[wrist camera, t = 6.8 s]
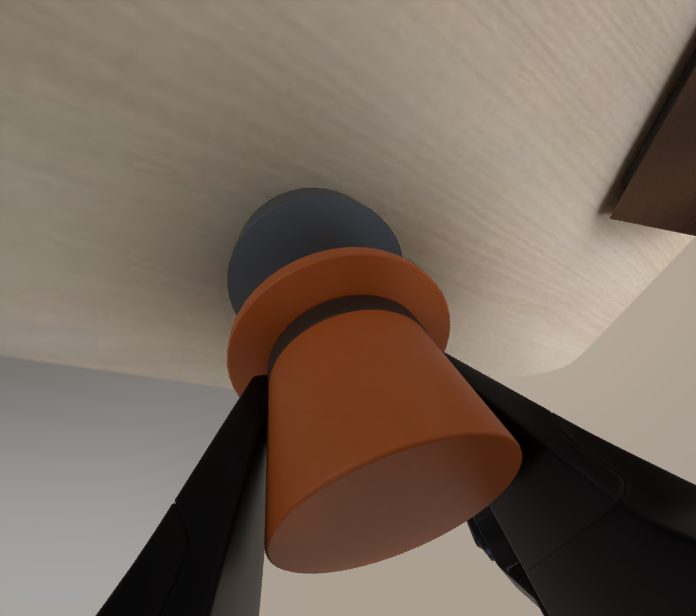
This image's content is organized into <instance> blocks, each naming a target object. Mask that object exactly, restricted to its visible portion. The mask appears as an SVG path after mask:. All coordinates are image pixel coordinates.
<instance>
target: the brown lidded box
mask: <svg viewBox="0 0 696 616" xmlns="http://www.w3.org/2000/svg"><path fill="white" fill-rule="evenodd" d="M621 185H628V186H627V188H626V190H625V191H624V193H623V195H622V197H621V199H620V200H619V202H618V204H617V206H616V207H615V209H614V211H613V213H612V214H611V216H610V219H614V220H619V221H624V222H629V223H634V224H639V225H644V226H649V227H654V228H659V229H664V230H668V231H673V232H678V233H683V234H688V235H693V236H696V50H695V52H694V53H693V55H692V57H691V59H690V61H689V62H688V64H687V66H686V68H685V70H684V71H683V73H682V75H681V77H680V79H679V81H678V82H677V84H676V86H675V88H674V90H673V91H672V93H671V95H670V97H669V99H668V100H667V102H666V104H665V106H664V108H663V109H662V111H661V113H660V115H659V117H658V119H657V120H656V122H655V124H654V126H653V128H652V129H651V131H650V133H649V135H648V137H647V138H646V140H645V142H644V144H643V146H642V147H641V149H640V151H639V153H638V155H637V156H636V158H635V160H634V162H633V164H632V166H631V167H630V169H629V171H628V173H627V175H626V176H625V178H624V180H623V182H622V184H621Z"/></svg>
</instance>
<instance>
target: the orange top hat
mask: <svg viewBox="0 0 696 616" xmlns="http://www.w3.org/2000/svg"><path fill="white" fill-rule="evenodd" d="M449 331H450V317H449V311H448V307H447V303H446V301H445V298H444V296H443V294H442V292H441V290H440V289H439V287H438V286H437V284H436V283H435V282H434V281H433V280H432V279H431V278H430V277H429V276H428V275H427V274H426V273H425V272H424V271H422V270H421V269H420V268H419V267H417V266H416V265H414V264H413V263H412V262H410V261H409V260H407V259H405V258H403V257H401V256H399V255H397V254H394V253H390V252H387V251H384V250H380V249H374V248H368V247H345V248H336V249H330V250H326V251H321V252H317V253H314V254H311V255H308V256H306V257H303V258H300V259H298V260H296V261H294V262H292V263H290V264H288V265H286V266H285V267H283V268H281V269H280V270H278V271H277V272H275V273H274V274H273V275H271V276H270V277H268V278H267V279H266V280H265V281H264V282H263V283H262V284H261V285H259V286H258V287H257V288H256V289H255V290H254V291H253V293H252V294H251V295H250V296H249V298H248V299H247V300H246V301H245V303H244V304H243V306H242V308H241V310H240V311H239V313H238V315H237V317H236V319H235V322H234V325H233V327H232V330H231V335H230V339H229V344H228V349H227V368H228V373H229V377H230V380H231V382H232V385H233V387H234V389H235V391H236V392H237V394H238V396H239V397H240V396H241V395H242V393H243V392H244V390H245V388H246V387H247V385H248V384H249V382H250V380H251V379H252V378H253V377H254V376H258V375H265V374H266V375H267V385H268V422H267V458H266V495H265V531H264V547H265V553H266V555H267V558H268V559H269V560H270V562H271V563H272V564H273V565H275V566H276V567H278V568H280V569H283V570H286V571H291V572H296V573H314V574H315V573H328V572H336V571H342V570H347V569H352V568H356V567H361V566H365V565H368V564H372V563H376V562H379V561H382V560H385V559H388V558H391V557H394V556H396V555H399V554H402V553H404V552H407V551H409V550H411V549H414V548H416V547H419V546H421V545H423V544H425V543H427V542H429V541H431V540H434V539H436V538H437V537H439V536H441V535H443V534H445V533H447V532H449V531H451V530H452V529H454V528H456V527H457V526H459V525H461V524H462V523H464V522H466V521H467V520H469V519H470V518H472V517H473V516H475V515H476V514H477V513H479V512H480V511H481V510H483V509H484V508H485V507H487V506H488V505H489V504H490V503H491V502H493V501H494V500H495V499H496V498H497V497H498V496H499V495H500V494H501V493H502V492H503V491H504V490H505V489H506V488H507V487H508V486H509V484H510V483H511V482H512V480H513V479H514V477H515V476H516V474H517V472H518V470H519V468H520V466H521V462H522V451H521V449H520V446H519V443H518V442H517V441H516V440H515V438H514V437H513V436H512V435H511V434H510V433H509V431H508V430H507V429H506V428H505V427H504V425H503V424H502V423H501V422H500V421H499V419H498V418H497V417H496V416H495V415H494V413H493V412H492V411H491V410H490V409H489V407H488V406H487V405H486V404H485V403H484V401H483V400H482V399H481V398H480V397H479V395H478V394H477V393H476V392H475V391H474V389H473V388H472V387H471V386H470V385H469V383H468V382H467V381H466V380H465V379H464V377H463V376H462V375H461V374H460V373H459V371H458V370H457V369H456V368H455V367H454V365H453V364H452V363H451V362H450V361H449V359H448V358H447V357H446V356H445V355H444V353H443V352H444V351H445V349H446V346H447V342H448V338H449ZM442 351H443V352H442Z"/></svg>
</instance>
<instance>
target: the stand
mask: <svg viewBox="0 0 696 616" xmlns="http://www.w3.org/2000/svg"><path fill="white" fill-rule="evenodd" d="M345 247H368V248H374V249H380V250H384V251H387V252H390V253H394V254H397V255H399V256H401V257H402V252H401V249H400V246H399V243H398V241H397V239H396V237H395V235H394V234H393V232H392V231H391V229H390V228H389V226H388V225H387V224H386V223H385V222H384V221H383V220H382V219H381V217H379V216H378V215H377V214H376V213H374V212H373V211H372V210H370V209H369V208H367V207H365V206H364V205H362V204H361V203H359V202H357V201H356V200H354V199H352V198H350V197H349V196H347V195H344V194H342V193H339V192H336V191H332V190H328V189H320V188H306V189H298V190H293V191H290V192H287V193H284V194H281V195H279V196H277V197H275V198H273V199H271V200H269V201H268V202H267V203H265V204H264V205H263V206H261V207H260V208H259V209H258V210H257V211H256V212H255V213H254V214H253V215H252V216H251V217H250V219H249V220H248V221H247V223H246V224H245V226H244V228H243V230H242V231H241V233H240V235H239V238H238V240H237V243H236V245H235V248H234V250H233V253H232V256H231V259H230V262H229V268H228V292H229V298H230V301H231V304H232V307H233V309H234V311H235V313H236V315H238V313H239V311H240V310H241V308H242V306H243V304H244V303H245V301H246V300H247V299H248V298H249V296H250V295H251V294H252V293H253V291H254V290H255V289H256V288H257V287H258V286H259V285H261V284H262V283H263V282H264V281H265V280H266V279H267V278H268V277H270V276H271V275H273V274H274V273H275V272H277V271H278V270H280V269H281V268H283V267H285V266H286V265H288V264H290V263H292V262H294V261H296V260H298V259H300V258H303V257H306V256H308V255H311V254H314V253H317V252H321V251H326V250H330V249H336V248H345Z"/></svg>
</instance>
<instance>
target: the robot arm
mask: <svg viewBox="0 0 696 616" xmlns="http://www.w3.org/2000/svg"><path fill="white" fill-rule="evenodd" d="M442 352H443V351H442ZM443 353H444V355H445V356H446V357H447V358H448V359H449V361H450V362H451V363H452V364H453V365H454V367H455V368H456V369H457V370H458V371H459V373H460V374H461V375H462V376H463V377H464V379H465V380H466V381H467V382H468V383H469V385H470V386H471V387H472V388H473V389H474V391H475V392H476V393H477V394H478V395H479V397H480V398H481V399H482V400H483V401H484V403H485V404H486V405H487V406H488V407H489V409H490V410H491V411H492V412H493V413H494V415H495V416H496V417H497V418H498V419H499V421H500V422H501V423H502V424H503V425H504V427H505V428H506V429H507V430H508V431H509V433H510V434H511V435H512V436H513V437H514V438H515V440H516V441H517V442H518V443H519V446H520V449H521V451H522V462H521V466H520V468H519V470H518V472H517V474H516V476H515V477H514V479H513V480H512V482H511V483H510V484H509V486H508V487H507V488H506V489H505V490H504V491H503V492H502V493H501V494H500V495H499V496H498V497H497V498H496V499H495V500H494V501H493V502H491V503H490V504H489V505H488V506H487V507H485V508H484V509H483V510H481V511H480V512H479V513H477V514H476V515H475V516H473V517H472V518H470V519H469V520H467V523H468V526H469V528H470V531H471V533H472V536H473V539H474V541H475V543H476V545H477V546H478V547H480V548H481V549H483V550H484V551H485V553H486V554H487V555H488V556H489V558H490V559H491V560H492V561H496V563H497V565H498V566H499V567H500V568H501V570H502V571H503V572H504V573H505V574H506V575H507V577H508V578H509V579H510V580H511V581H512V583H513V584H514V585H515V586H516V587H517V588H518V589H519V590H520V591H521V592H522V593H523V594H524V595H526V596H527V597H528V598H529V599H530V600H531V601H532V602H533V603H535V604H536V605H537V606H538V607H539V608H540V609H541V611H542V613H543V615H544V616H696V485H695V484H693V483H691V482H688V481H686V480H684V479H682V478H680V477H678V476H676V475H674V474H672V473H670V472H668V471H666V470H664V469H661V468H660V467H658V466H656V465H654V464H652V463H650V462H647V461H646V460H643V459H641V458H639V457H637V456H635V455H633V454H631V453H629V452H627V451H625V450H623V449H621V448H619V447H617V446H615V445H613V444H611V443H609V442H607V441H605V440H603V439H601V438H599V437H597V436H595V435H593V434H591V433H589V432H588V431H586V430H584V429H582V428H580V427H578V426H576V425H575V424H573V423H571V422H569V421H567V420H565V419H564V418H562V417H560V416H558V415H556V414H555V413H551V412H550V411H549V410H547V409H546V408H544V407H542V406H540V405H538V404H537V403H535V402H533V401H531V400H529V399H528V398H526V397H524V396H522V395H520V394H519V393H517V392H515V391H513V390H511V389H509V388H508V387H506V386H504V385H502V384H500V383H499V382H497V381H495V380H493V379H491V378H490V377H488V376H486V375H484V374H482V373H481V372H479V371H477V370H475V369H473V368H472V367H470V366H468V365H466V364H464V363H463V362H461V361H459V360H457V359H455V358H454V357H452V356H450V355H448V354H446V353H445V352H443ZM267 422H268V385H267V375H266V374H265V375H258V376H254V377H253V378H252V379H251V380H250V382H249V384H248V385H247V387H246V388H245V390H244V392H243V393H242V395H241V396H240V398H239V399H238V401H237V403H236V404H235V406H234V407H233V409H232V410H231V412H230V414H229V415H228V417H227V419H226V420H225V422H224V423H223V425H222V426H221V428H220V429H219V431H218V433H217V434H216V436H215V437H214V439H213V440H212V442H211V444H210V445H209V447H208V448H207V450H206V452H205V453H204V455H203V456H202V458H201V460H200V461H199V463H198V464H197V466H196V467H195V469H194V470H193V472H192V474H191V475H190V477H189V478H188V480H187V482H186V483H185V485H184V486H183V488H182V489H181V491H180V493H179V494H178V496H177V497H176V499H175V503H176V504H175V503H173V504H172V505H171V507H170V508H169V510H168V511H167V513H166V514H165V516H164V518H163V519H162V521H161V523H160V524H159V526H158V527H157V529H156V530H155V532H154V533H153V535H152V536H151V538H150V539H149V541H148V542H147V544H146V545H145V547H144V548H143V550H142V551H141V553H140V554H139V556H138V557H137V559H136V560H135V562H134V563H133V564H132V566H131V567H130V569H129V570H128V571H127V573H126V575H125V576H124V577H123V578H122V580H121V581H120V583H119V584H118V585H117V587H116V589H115V590H114V591H113V593H112V594H111V595H110V597H109V598H108V599H107V601H106V602H105V604H104V605H103V606H102V608H101V609H100V611H99V612H98V613H97V615H96V616H259V607H260V597H261V586H262V574H263V563H264V551H265V547H264V531H265V495H266V458H267Z"/></svg>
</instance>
